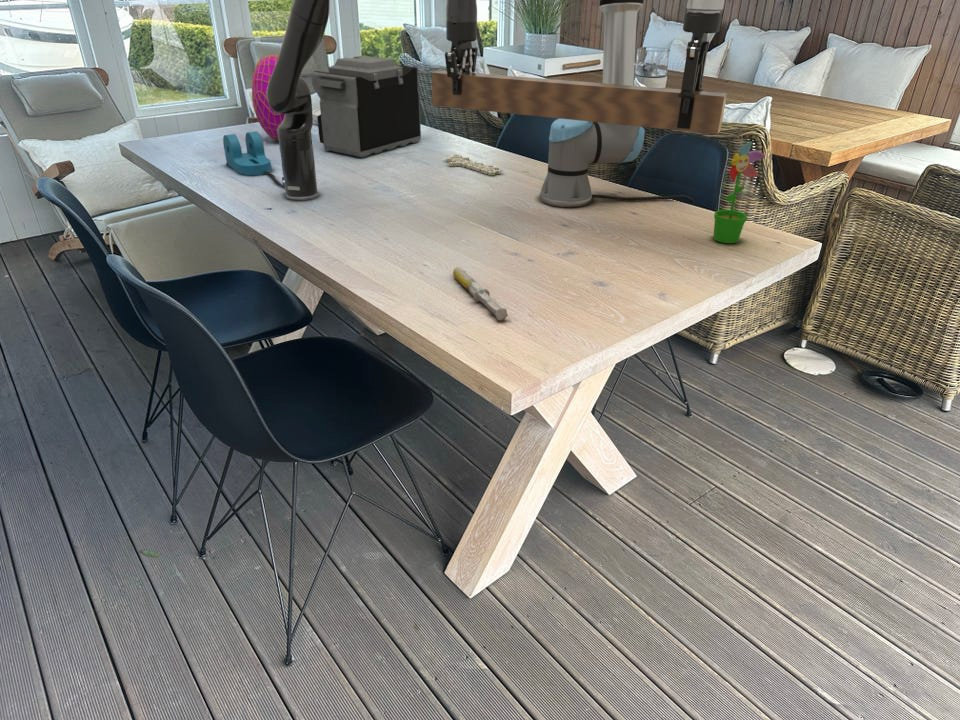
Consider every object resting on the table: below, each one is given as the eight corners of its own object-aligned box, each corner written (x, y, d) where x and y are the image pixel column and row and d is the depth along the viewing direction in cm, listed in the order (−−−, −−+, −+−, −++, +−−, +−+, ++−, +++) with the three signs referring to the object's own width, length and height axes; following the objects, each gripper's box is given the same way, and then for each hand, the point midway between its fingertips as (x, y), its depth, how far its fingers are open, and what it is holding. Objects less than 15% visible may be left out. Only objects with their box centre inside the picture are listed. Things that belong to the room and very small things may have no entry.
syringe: (449, 274, 155) (449, 263, 153) (465, 272, 156) (464, 260, 154) (490, 323, 135) (491, 310, 133) (508, 319, 136) (508, 307, 134)
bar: (720, 130, 156) (727, 93, 152) (717, 134, 152) (724, 96, 148) (440, 102, 182) (440, 70, 178) (432, 105, 178) (431, 72, 174)
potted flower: (724, 247, 171) (744, 145, 158) (701, 237, 177) (720, 137, 164) (751, 241, 175) (774, 141, 162) (728, 231, 181) (748, 134, 168)
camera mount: (227, 164, 233) (221, 132, 227) (257, 160, 238) (252, 129, 233) (244, 176, 220) (239, 143, 215) (276, 172, 225) (271, 139, 220)
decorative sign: (435, 158, 239) (457, 153, 245) (435, 161, 240) (457, 156, 245) (485, 174, 222) (507, 169, 228) (485, 177, 223) (507, 172, 228)
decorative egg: (293, 132, 276) (283, 50, 261) (319, 140, 264) (310, 56, 249) (249, 139, 265) (236, 54, 250) (273, 148, 253) (261, 60, 238)
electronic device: (383, 133, 276) (378, 52, 261) (425, 141, 265) (422, 56, 250) (314, 150, 251) (304, 61, 235) (358, 160, 240) (350, 67, 224)
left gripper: (461, 16, 174) (460, 87, 183) (434, 20, 163) (435, 96, 172) (487, 18, 171) (486, 90, 180) (462, 22, 160) (462, 99, 169)
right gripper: (693, 8, 153) (676, 117, 165) (677, 13, 139) (660, 131, 151) (728, 9, 150) (708, 120, 162) (715, 15, 136) (695, 135, 148)
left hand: (461, 92), depth 176 cm, fingers closed on bar, 4 cm apart
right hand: (685, 125), depth 156 cm, fingers closed on bar, 5 cm apart
